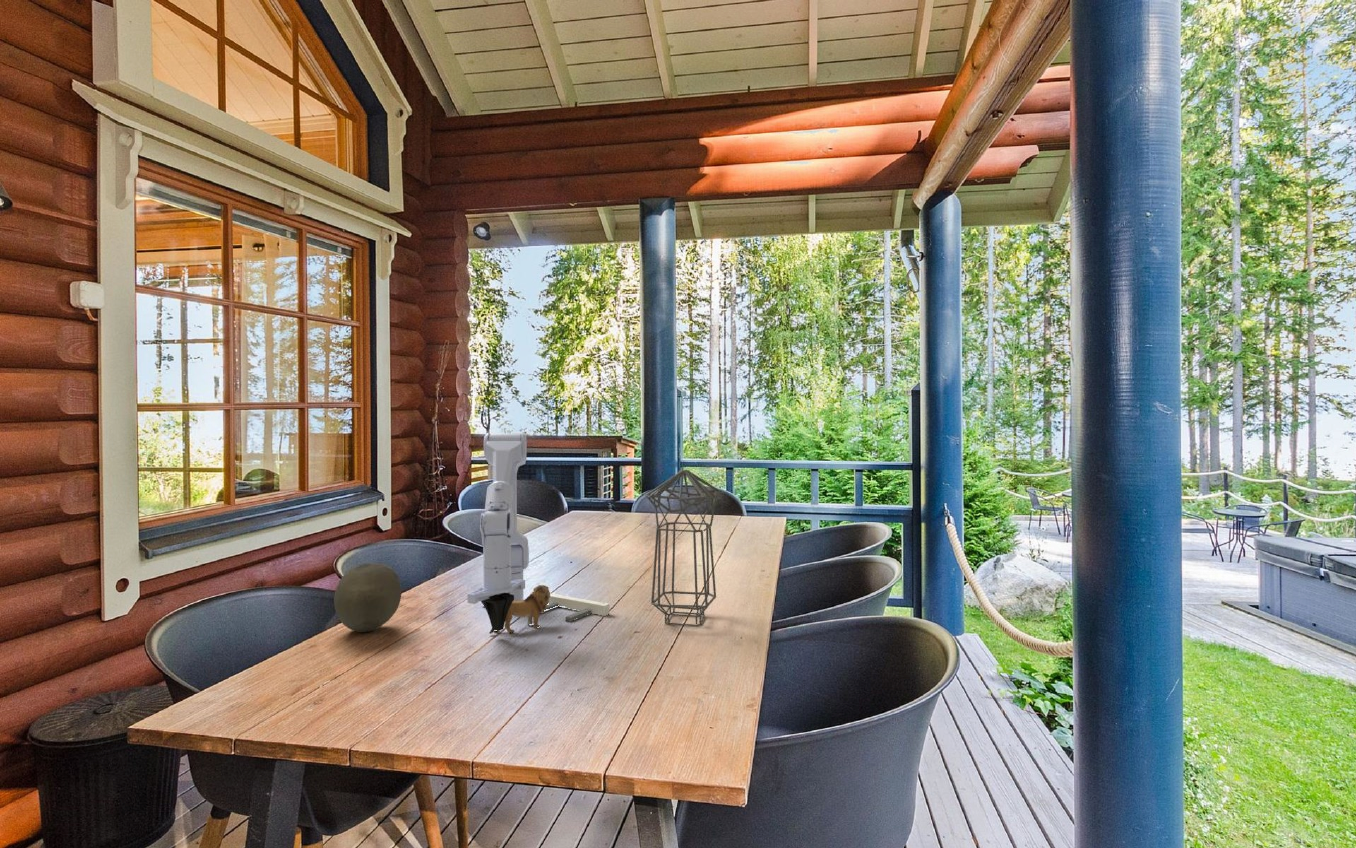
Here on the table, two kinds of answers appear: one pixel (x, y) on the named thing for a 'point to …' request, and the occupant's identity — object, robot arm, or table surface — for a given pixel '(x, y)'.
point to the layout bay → (578, 606)
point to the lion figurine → (529, 607)
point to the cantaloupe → (367, 596)
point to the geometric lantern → (701, 498)
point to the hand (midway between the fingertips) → (497, 629)
